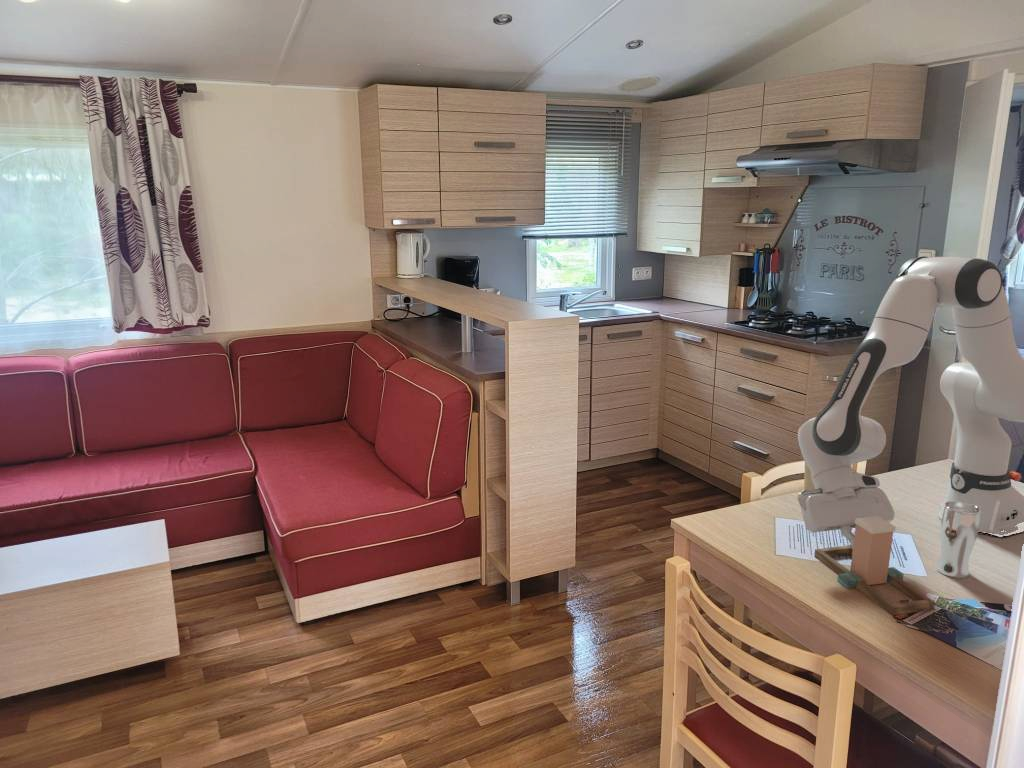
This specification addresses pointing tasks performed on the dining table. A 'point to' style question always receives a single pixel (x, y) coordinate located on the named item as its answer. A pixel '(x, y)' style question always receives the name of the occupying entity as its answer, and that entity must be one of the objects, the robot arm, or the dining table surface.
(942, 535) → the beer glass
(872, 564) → the block
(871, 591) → the open rectangular frame
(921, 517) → the dining table surface
